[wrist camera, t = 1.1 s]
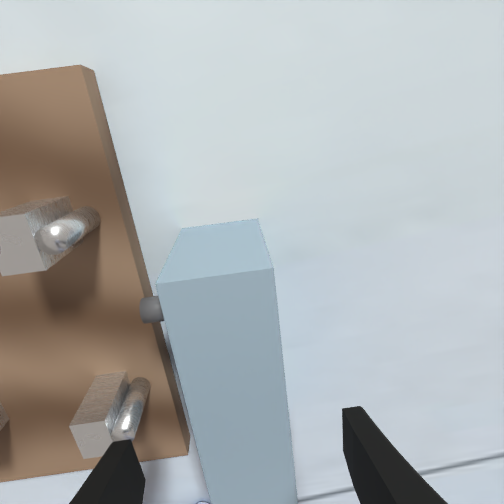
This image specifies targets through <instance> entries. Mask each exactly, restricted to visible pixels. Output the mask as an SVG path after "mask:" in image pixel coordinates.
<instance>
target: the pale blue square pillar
mask: <svg viewBox="0 0 504 504" xmlns="http://www.w3.org/2000/svg"><path fill="white" fill-rule="evenodd" d="M155 285H156V289H157V293H158V296H152V297H145V298H142V299H141V300H140V306H139V309H140V317H141V320H142V322H143V323H152V322H160V321H165V324H166V328H167V332H168V336H169V340H170V344H171V348H172V351H173V355H174V359H175V363H176V367H177V371H178V375H179V379H180V383H181V387H182V391H183V395H184V399H185V403H186V406H187V410H188V414H189V418H190V422H191V426H192V430H193V434H194V438H195V442H196V446H197V450H198V454H199V458H200V461H201V465H202V469H203V473H204V477H205V481H206V485H207V489H208V493H209V497H210V501H211V504H298V499H297V489H296V480H295V470H294V460H293V451H292V441H291V431H290V422H289V412H288V402H287V393H286V383H285V373H284V364H283V354H282V344H281V335H280V325H279V315H278V306H277V296H276V286H275V277H274V268H273V265H272V261H271V258H270V255H269V252H268V249H267V246H266V243H265V240H264V237H263V233H262V230H261V227H260V224H259V221H258V218H257V219H250V220H242V221H235V222H227V223H220V224H212V225H205V226H197V227H190V228H182V230H181V232H180V234H179V236H178V238H177V240H176V242H175V244H174V246H173V248H172V251H171V253H170V255H169V257H168V259H167V261H166V263H165V265H164V267H163V269H162V271H161V273H160V275H159V277H158V280H157V282H156V284H155Z"/></svg>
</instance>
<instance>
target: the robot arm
mask: <svg viewBox="0 0 504 504" xmlns="http://www.w3.org/2000/svg"><path fill="white" fill-rule="evenodd" d="M342 420H343V452H344V455H345V459H346V462H347V466H348V469H349V472H350V476H351V479H352V482H353V486H354V488H355V491H356V493H357V496H358V499H359V501H360V504H448V503H447V502H446V501H445V500H444V499H442V498H441V497H440V495H439V494H438V493H437V492H436V491H435V490H434V489H433V488H432V487H431V486H430V485H429V484H428V483H427V482H426V481H425V480H424V479H423V478H422V477H421V476H420V475H419V474H418V473H417V472H416V471H415V470H414V468H413V467H412V466H411V465H410V464H409V463H408V462H407V461H406V460H405V459H404V457H403V456H402V455H401V454H400V453H399V452H398V451H397V450H396V448H395V447H394V446H393V445H392V444H391V443H390V441H389V440H388V439H387V438H386V437H385V435H384V434H383V433H382V432H381V431H380V429H379V428H378V427H377V426H376V424H375V423H374V422H373V421H372V419H371V418H370V417H369V415H368V414H367V413H366V412H365V410H364V409H363V408H362V407H361V406H357V407H350V408H343V409H342ZM144 487H145V477H144V474H143V472H142V469H141V466H140V463H139V461H138V458H137V455H136V452H135V450H134V447H133V444H132V441H131V439H128V440H121V441H114V442H112V443H111V444H110V446H109V447H108V449H107V450H106V452H105V453H104V455H103V456H102V457H101V459H100V460H99V462H98V463H97V465H96V466H95V468H94V469H93V471H92V472H91V474H90V475H89V476H88V478H87V479H86V481H85V482H84V484H83V485H82V487H81V488H80V489H79V491H78V492H77V494H76V495H75V496H74V498H73V499H72V501H71V502H70V503H69V504H142V501H143V494H144ZM197 504H209V503H207V502H199V503H197Z"/></svg>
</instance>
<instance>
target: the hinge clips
mask: <svg viewBox="0 0 504 504" xmlns="http://www.w3.org/2000/svg"><path fill="white" fill-rule="evenodd" d="M99 224H100V215H99V213H98V212H97V211H96V210H95V209H94V208H92V207H89V206H84V207H81V208H79V209H77V210H75V211H73V209H72V206H71V203H70V199H69V196H64V197H57V198H49V199H42V200H34V201H30V202H27V203H24V204H21V205H18V206H16V207H13V208H10V209H7V210H4V211H1V212H0V273H1V275H2V276H8V275H16V274H23V273H30V272H38V271H45V270H47V269H49V268H50V267H51V266H53V265H54V264H55V263H56V262H58V261H59V260H60V259H62V258H63V257H64V256H66V255H67V254H68V253H70V252H71V251H72V250H74V249H75V248H76V247H78V246H79V245H80V244H81V243H83V239H82V238H83V237H84V236H85V235H87V234H88V233H90V232H91V231H92V230H94V229H95V228H96V227H98V226H99ZM150 386H151V384H150V382H149V381H148V380H147V379H146V378H143V377H137V378H135V379H133V380H132V382H131V384H130V381H129V378H128V375H127V372H126V371H123V372H115V373H108V374H101V375H96V377H95V379H94V381H93V383H92V385H91V386H90V388H89V390H88V392H87V394H86V396H85V397H84V399H83V401H82V403H81V405H80V407H79V408H78V410H77V412H76V414H75V416H74V417H73V419H72V421H71V423H70V425H69V428H70V430H71V432H72V434H73V436H74V439H75V441H76V443H77V445H78V448H79V450H80V452H81V454H82V457H83V459H87V458H94V457H101V456H103V455H104V453H105V452H106V450H107V449H108V447H109V446H110V444H111V443H112V442H114V441H121V440H128V439H131V441H133V440H134V438H135V434H136V431H137V428H138V425H139V422H140V418H141V415H142V412H143V409H144V406H145V402H146V399H147V396H148V393H149V389H150ZM8 420H9V417H8V416H7V414H6V412H5V410H4V408H3V406H2V404H1V402H0V430H1V429H2V428H3V427H4V425H5V424H6V423H7V421H8Z"/></svg>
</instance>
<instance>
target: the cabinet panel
mask: <svg viewBox="0 0 504 504" xmlns="http://www.w3.org/2000/svg"><path fill="white" fill-rule="evenodd" d="M64 196H69V199H70V203H71V206H72V209H73V211H75V210H77V209H79V208H81V207H84V206H89V207H92V208H94V209H95V210H96V211H97V212H98V213H99V215H100V224H99V226H98V227H96V228H95V229H94V230H92V231H91V232H90V233H88V234H87V235H85V236H84V237H83V238H82V239H83V243H81V244H80V245H79V246H78V247H76V248H75V249H74V250H72V251H71V252H70V253H68V254H67V255H66V256H64V257H63V258H62V259H60V260H59V261H58V262H56V263H55V264H54V265H53V266H51V267H50V268H49V269H47V270H45V271H38V272H30V273H23V274H16V275H8V276H2V275H1V273H0V402H1V404H2V406H3V408H4V410H5V412H6V414H7V416H8V417H9V420H8V421H7V423H6V424H5V425H4V427H3V428H2V429H1V430H0V482H6V481H13V480H19V479H26V478H33V477H40V476H47V475H54V474H60V473H67V472H74V471H81V470H88V469H94V468H95V466H96V465H97V463H98V462H99V460H100V459H101V457H102V456H101V457H94V458H87V459H83V457H82V454H81V452H80V450H79V448H78V445H77V443H76V441H75V439H74V436H73V434H72V432H71V430H70V428H69V425H70V423H71V421H72V419H73V417H74V416H75V414H76V412H77V410H78V408H79V407H80V405H81V403H82V401H83V399H84V397H85V396H86V394H87V392H88V390H89V388H90V386H91V385H92V383H93V381H94V379H95V377H96V375H101V374H108V373H115V372H123V371H126V372H127V375H128V378H129V381H130V384H131V382H132V380H133V379H135V378H137V377H143V378H146V379H147V380H148V381H149V382H150V384H151V386H150V389H149V393H148V396H147V399H146V402H145V406H144V409H143V412H142V415H141V418H140V422H139V425H138V428H137V431H136V434H135V438H134V440H133V441H132V444H133V447H134V450H135V452H136V455H137V458H138V461H139V462H143V461H149V460H156V459H163V458H170V457H177V456H184V455H188V450H189V442H190V434H189V430H188V426H187V422H186V419H185V415H184V411H183V407H182V403H181V400H180V396H179V392H178V388H177V384H176V381H175V377H174V373H173V369H172V365H171V362H170V358H169V354H168V350H167V346H166V343H165V339H164V335H163V331H162V328H161V324H160V322H152V323H143V322H142V320H141V317H140V309H139V306H140V300H141V299H142V298H145V297H152V296H153V293H152V290H151V286H150V282H149V278H148V274H147V271H146V267H145V263H144V259H143V255H142V252H141V248H140V244H139V240H138V236H137V233H136V229H135V225H134V221H133V218H132V214H131V210H130V206H129V202H128V199H127V195H126V191H125V187H124V183H123V180H122V176H121V172H120V168H119V164H118V161H117V157H116V153H115V149H114V145H113V142H112V138H111V134H110V130H109V127H108V123H107V119H106V115H105V111H104V108H103V104H102V100H101V96H100V92H99V89H98V85H97V81H96V77H95V73H94V70H91V69H89V68H87V67H84V66H82V65H74V66H66V67H58V68H50V69H43V70H35V71H27V72H19V73H11V74H3V75H0V212H1V211H4V210H7V209H10V208H13V207H16V206H18V205H21V204H24V203H27V202H30V201H34V200H42V199H49V198H57V197H64Z"/></svg>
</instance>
